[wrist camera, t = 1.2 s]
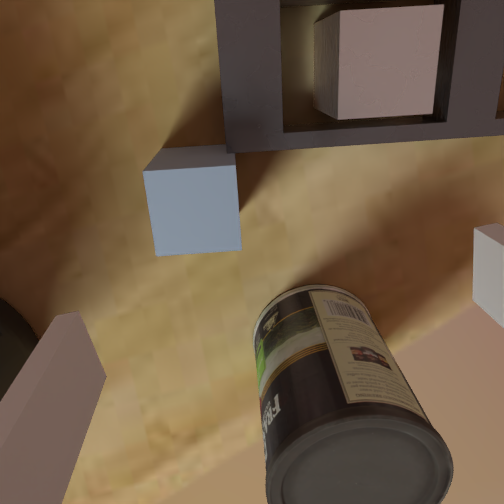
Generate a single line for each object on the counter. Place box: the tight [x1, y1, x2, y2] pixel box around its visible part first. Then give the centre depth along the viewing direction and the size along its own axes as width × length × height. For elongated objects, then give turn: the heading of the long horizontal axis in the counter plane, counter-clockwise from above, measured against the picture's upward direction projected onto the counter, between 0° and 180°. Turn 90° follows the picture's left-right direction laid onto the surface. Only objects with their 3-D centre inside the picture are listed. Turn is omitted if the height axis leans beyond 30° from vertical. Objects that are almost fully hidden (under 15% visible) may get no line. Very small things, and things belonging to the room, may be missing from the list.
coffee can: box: [253, 285, 453, 504], centre depth 30 cm, size 10×10×14 cm
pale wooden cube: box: [314, 4, 444, 120], centre depth 25 cm, size 5×5×7 cm
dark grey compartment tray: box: [214, 0, 504, 154], centre depth 26 cm, size 30×9×4 cm, turn 93°
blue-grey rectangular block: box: [143, 144, 242, 256], centre depth 27 cm, size 5×5×7 cm
